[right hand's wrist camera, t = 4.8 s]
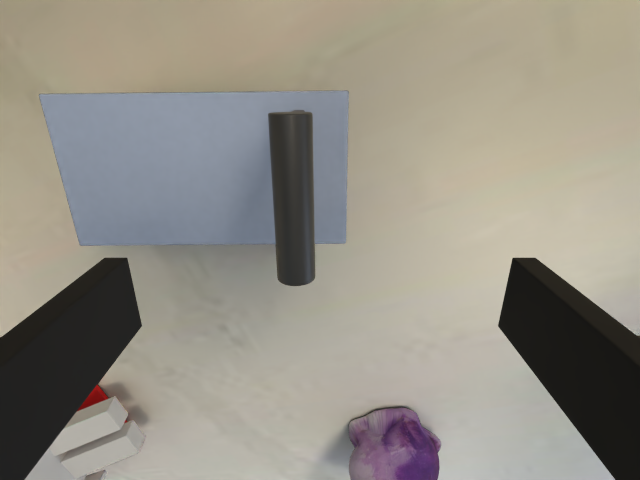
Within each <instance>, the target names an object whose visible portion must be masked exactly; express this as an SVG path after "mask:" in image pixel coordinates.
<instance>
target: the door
mask: <svg viewBox="0 0 640 480" xmlns="http://www.w3.org/2000/svg"><path fill="white" fill-rule="evenodd" d="M39 97H40V101H41V105H42V108H43V112H44V116H45V119H46V123H47V127H48V130H49V134H50V138H51V141H52V145H53V149H54V152H55V156H56V160H57V163H58V167H59V171H60V174H61V178H62V182H63V185H64V189H65V192H66V196H67V200H68V203H69V207H70V211H71V214H72V218H73V222H74V225H75V229H76V233H77V236H78V240H79V244H80V245H81V246H92V245H216V244H276V259H277V276H278V280H279V281H280V282H281V283H282V284H285V285H289V286H301V285H306V284H308V283H310V282H312V281H313V280H314V278H315V244H341V243H346V210H347V154H348V98H349V92H348V91H265V92H169V93H72V94H39Z"/></svg>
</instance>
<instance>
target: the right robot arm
mask: <svg viewBox="0 0 640 480" xmlns="http://www.w3.org/2000/svg"><path fill="white" fill-rule="evenodd" d="M141 326H142V324H141V320H140V315H139V310H138V306H137V301H136V296H135V292H134V287H133V282H132V278H131V273H130V268H129V264H128V259H127V258H104V259H103V260H101V261H100V262H99V263H97V264H96V265H95V266H94V267H92V268H91V269H90V270H88V271H87V272H86V273H84V274H83V275H82V276H81V277H79V278H78V279H77V280H75V281H74V282H73V283H71V284H70V285H69V286H68V287H66V288H65V289H64V290H62V291H61V292H60V293H58V294H57V295H56V296H55V297H53V298H52V299H51V300H49V301H48V302H47V303H45V304H44V305H43V306H41V307H40V308H39V309H38V310H36V311H35V312H34V313H32V314H31V315H30V316H28V317H27V318H26V319H25V320H23V321H22V322H21V323H19V324H18V325H17V326H15V327H14V328H13V329H12V330H10V331H9V332H8V333H6V334H5V335H4V336H2V337H0V480H25V479H26V477H27V476H28V475H29V473H30V472H31V471H32V469H33V468H34V467H35V465H36V464H37V463H38V461H39V460H40V459H41V458H42V456H43V455H44V454H45V452H46V451H47V450H48V448H49V447H50V446H51V444H52V443H53V442H54V441H55V439H56V438H57V437H58V435H59V434H60V433H61V431H62V430H63V429H64V427H65V426H66V425H67V423H68V422H69V421H70V420H71V418H72V417H73V416H74V414H75V413H76V412H77V410H78V409H79V408H80V406H81V405H82V404H83V402H84V401H85V400H86V399H87V397H88V396H89V395H90V393H91V392H92V391H93V389H94V388H95V387H96V385H97V384H98V383H99V382H100V380H101V379H102V378H103V376H104V375H105V374H106V372H107V371H108V370H109V368H110V367H111V366H112V364H113V363H114V362H115V361H116V359H117V358H118V357H119V355H120V354H121V353H122V351H123V350H124V349H125V347H126V346H127V345H128V343H129V342H130V341H131V340H132V338H133V337H134V336H135V334H136V333H137V332H138V330H139V329H140V328H141ZM498 326H499V328H500V329H501V330H502V332H503V333H504V334H505V336H506V337H507V338H508V340H509V341H510V342H511V343H512V345H513V346H514V347H515V349H516V350H517V351H518V353H519V354H520V355H521V357H522V358H523V359H524V361H525V362H526V363H527V364H528V366H529V367H530V368H531V370H532V371H533V372H534V374H535V375H536V376H537V378H538V379H539V380H540V382H541V383H542V384H543V385H544V387H545V388H546V389H547V391H548V392H549V393H550V395H551V396H552V397H553V399H554V400H555V401H556V402H557V404H558V405H559V406H560V408H561V409H562V410H563V412H564V413H565V414H566V416H567V417H568V418H569V420H570V421H571V422H572V423H573V425H574V426H575V427H576V429H577V430H578V431H579V433H580V434H581V435H582V437H583V438H584V439H585V441H586V442H587V443H588V444H589V446H590V447H591V448H592V450H593V451H594V452H595V454H596V455H597V456H598V458H599V459H600V460H601V461H602V463H603V464H604V465H605V467H606V468H607V469H608V471H609V472H610V473H611V475H612V476H613V477H614V479H615V480H640V336H636V335H635V334H634V333H632V332H631V331H630V330H628V329H627V328H626V327H625V326H623V325H622V324H621V323H619V322H618V321H617V320H615V319H614V318H613V317H612V316H610V315H609V314H608V313H606V312H605V311H604V310H602V309H601V308H600V307H598V306H597V305H596V304H595V303H593V302H592V301H591V300H589V299H588V298H587V297H585V296H584V295H583V294H582V293H580V292H579V291H578V290H576V289H575V288H574V287H572V286H571V285H570V284H569V283H567V282H566V281H565V280H563V279H562V278H561V277H559V276H558V275H557V274H556V273H554V272H553V271H552V270H550V269H549V268H548V267H546V266H545V265H544V264H543V263H541V262H540V261H539V260H537V259H536V258H513V259H512V264H511V268H510V273H509V278H508V282H507V287H506V292H505V296H504V301H503V306H502V310H501V315H500V320H499V324H498Z"/></svg>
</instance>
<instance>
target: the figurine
mask: <svg viewBox="0 0 640 480" xmlns="http://www.w3.org/2000/svg"><path fill="white" fill-rule="evenodd" d="M349 438H350V440H351V442H352V444H353V445H354V447H355V449H354V451H353V452H352V454H351V457H350V461H349V473H350V479H351V480H437V479H438V474H439V458H438V451H439V450H440V448H441V441H440V439H439V438H438V437H437V436H436V435H435V434H433V433H432V432H430V431H428V430H427V429H425V428H423V427H422V426H421V424H420V421H419V418H418V416H417V414H416V413H415V412H414V411H412V410H410V409H407V408H403V407H402V408H391V409H381V410H377V411H376V410H375V411H374V412H371V413H369V414H368V415H366V416H364V417H361V418H357V419H355V420H353V421H351V422H350V424H349Z"/></svg>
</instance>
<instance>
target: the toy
mask: <svg viewBox="0 0 640 480" xmlns="http://www.w3.org/2000/svg"><path fill="white" fill-rule="evenodd" d="M127 416H128V412H127V411H126V410H125V408H124V407H123V406H122V404H121V403H120V402H119V400H118V399H117V398H116V396H114V397H111V398H108V397H107V396H106V395H105V393H104V392H103V391H102V390H101V388H100V387H99V386H98V385H96V387H95V388H94V389H93V391H92V392H91V393H90V395H89V396H88V397H87V399H86V400H85V401H84V402H83V404H82V405H81V406H80V408H79V409H78V410H77V412H76V413H75V414H74V416H73V417H72V418H71V420H70V421H69V422H68V423H67V425H66V426H65V427H64V429H63V430H62V431H61V433H60V434H59V435H58V437H57V438H56V439H55V441H54V442H53V443H52V444H51V446H50V447H49V448H48V450H47V451H46V452H45V454H44V455H43V456H42V458H41V459H40V460H39V461H38V463H37V464H36V465H35V467H34V468H33V469H32V471H31V472H30V473H29V475H28V476H27V477H26V479H25V480H104V479H105V477H106V475H107V472H106V470H103V471H100V472H97V473H94V474H91V475H87V474H89V473H91V472H93V471H96V470H98V469H101V468H103V467H106V466H108V465H111V464H113V463H116V462H118V461H120V460H123V459H125V458H128V457H130V456H133V455H135V454H138V453H140V450H141V447H142V445H143V442H144V440H145V437H146V436H145V435H144V433H143V432H142V431H141V429H140V428H139V427H138V425H137V424H136V423H135V422H134V420H132V421H129V422H127V420H126V418H127ZM86 475H87V476H86Z"/></svg>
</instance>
